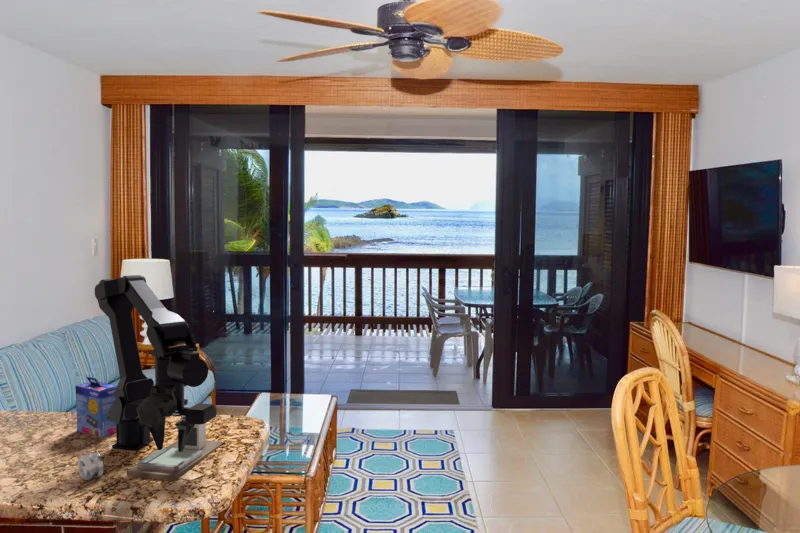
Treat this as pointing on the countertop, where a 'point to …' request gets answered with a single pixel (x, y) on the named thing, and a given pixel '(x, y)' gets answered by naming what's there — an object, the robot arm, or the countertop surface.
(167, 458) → the rail board
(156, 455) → the rail guides
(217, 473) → the countertop surface
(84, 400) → the ink cartridge box
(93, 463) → the metal grooved wheel
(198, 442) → the block
